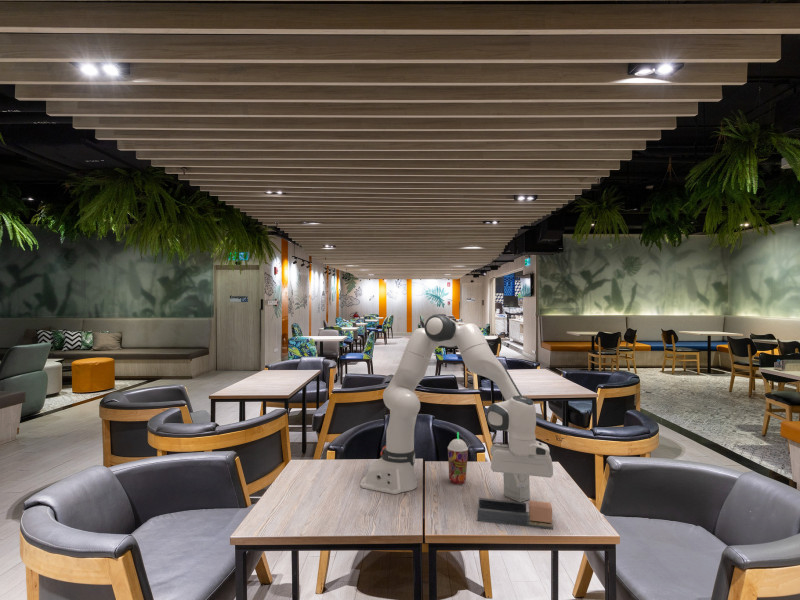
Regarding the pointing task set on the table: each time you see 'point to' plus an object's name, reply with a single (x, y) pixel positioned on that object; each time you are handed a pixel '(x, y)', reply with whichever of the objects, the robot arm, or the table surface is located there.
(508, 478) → the skincare box
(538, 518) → the block
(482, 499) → the chute
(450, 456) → the smoothie
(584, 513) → the table surface
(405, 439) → the robot arm
